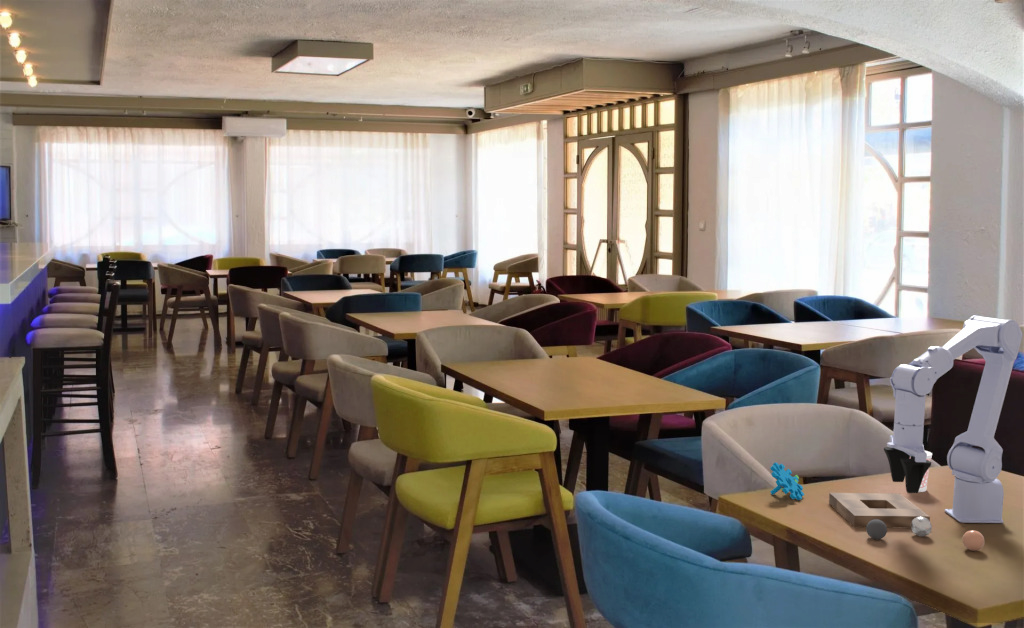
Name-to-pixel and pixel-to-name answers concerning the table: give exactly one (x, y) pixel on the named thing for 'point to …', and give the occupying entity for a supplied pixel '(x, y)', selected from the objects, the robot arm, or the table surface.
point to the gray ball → (876, 529)
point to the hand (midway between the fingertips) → (904, 487)
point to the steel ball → (921, 526)
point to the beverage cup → (925, 478)
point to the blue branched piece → (786, 482)
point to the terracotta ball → (973, 540)
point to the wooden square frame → (876, 508)
